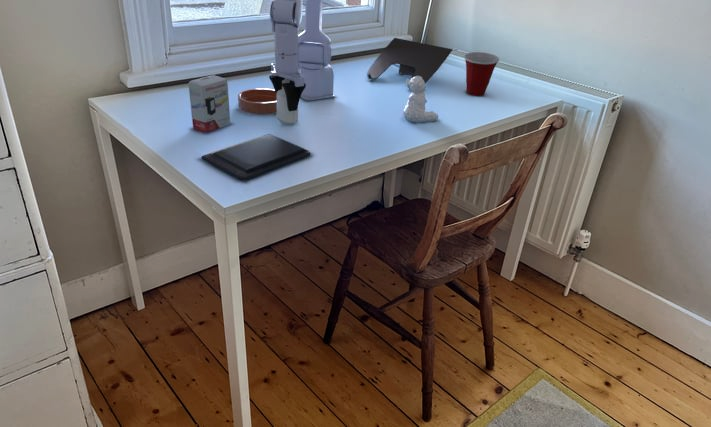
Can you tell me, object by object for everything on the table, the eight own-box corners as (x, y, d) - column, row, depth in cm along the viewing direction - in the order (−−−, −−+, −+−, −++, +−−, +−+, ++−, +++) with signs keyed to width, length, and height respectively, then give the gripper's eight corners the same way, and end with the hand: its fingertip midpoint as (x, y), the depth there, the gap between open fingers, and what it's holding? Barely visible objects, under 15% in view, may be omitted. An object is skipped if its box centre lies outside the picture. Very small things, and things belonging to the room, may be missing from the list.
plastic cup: (455, 95, 162) (461, 57, 156) (462, 86, 171) (468, 50, 165) (489, 101, 159) (496, 62, 153) (494, 92, 168) (501, 55, 162)
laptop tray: (364, 93, 177) (358, 72, 170) (397, 54, 187) (393, 32, 180) (422, 109, 166) (419, 87, 159) (454, 66, 176) (452, 43, 169)
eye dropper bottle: (284, 126, 129) (283, 79, 123) (275, 119, 133) (274, 73, 127) (299, 124, 131) (299, 77, 125) (290, 116, 135) (290, 71, 129)
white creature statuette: (439, 120, 141) (445, 77, 135) (419, 127, 136) (425, 83, 130) (412, 111, 147) (417, 69, 141) (393, 117, 141) (397, 74, 135)
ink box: (206, 133, 124) (201, 85, 118) (192, 128, 126) (186, 81, 120) (231, 124, 130) (228, 78, 124) (217, 119, 132) (213, 74, 126)
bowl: (273, 98, 150) (273, 86, 148) (293, 111, 141) (293, 99, 139) (231, 103, 143) (231, 91, 142) (249, 118, 134) (248, 105, 133)
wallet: (241, 174, 102) (198, 150, 111) (242, 182, 103) (199, 158, 112) (314, 148, 115) (271, 129, 124) (314, 156, 116) (271, 136, 125)
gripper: (259, 46, 126) (261, 100, 133) (284, 61, 116) (285, 118, 123) (285, 44, 130) (285, 96, 137) (312, 58, 120) (311, 114, 126)
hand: (287, 106), depth 130 cm, fingers closed on eye dropper bottle, 5 cm apart
